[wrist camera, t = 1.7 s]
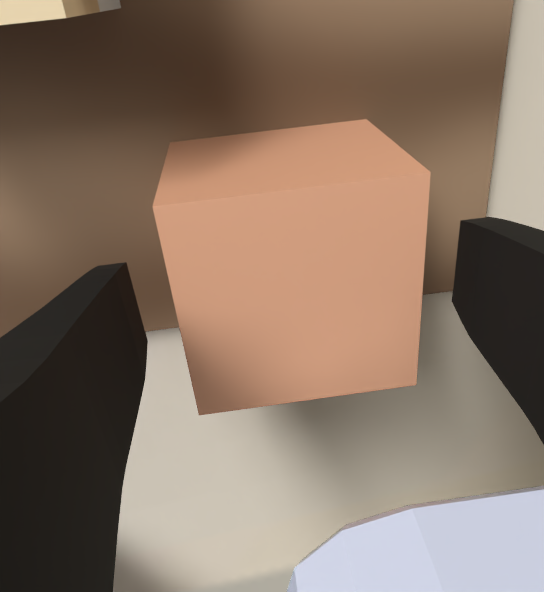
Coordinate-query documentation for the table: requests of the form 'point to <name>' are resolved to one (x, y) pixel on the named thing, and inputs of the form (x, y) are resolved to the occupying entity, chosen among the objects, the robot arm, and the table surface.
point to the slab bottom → (108, 5)
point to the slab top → (44, 10)
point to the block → (294, 262)
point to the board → (226, 119)
